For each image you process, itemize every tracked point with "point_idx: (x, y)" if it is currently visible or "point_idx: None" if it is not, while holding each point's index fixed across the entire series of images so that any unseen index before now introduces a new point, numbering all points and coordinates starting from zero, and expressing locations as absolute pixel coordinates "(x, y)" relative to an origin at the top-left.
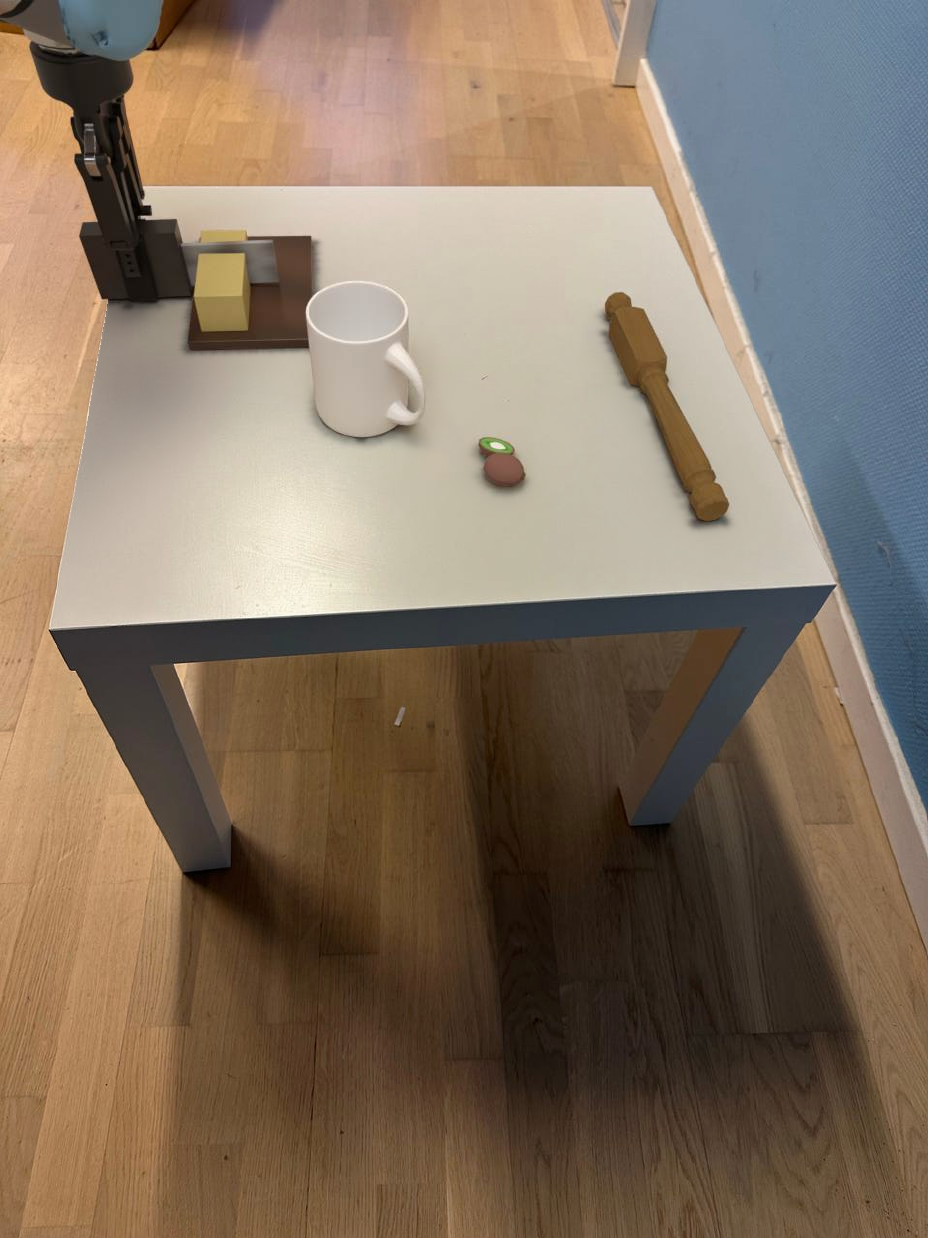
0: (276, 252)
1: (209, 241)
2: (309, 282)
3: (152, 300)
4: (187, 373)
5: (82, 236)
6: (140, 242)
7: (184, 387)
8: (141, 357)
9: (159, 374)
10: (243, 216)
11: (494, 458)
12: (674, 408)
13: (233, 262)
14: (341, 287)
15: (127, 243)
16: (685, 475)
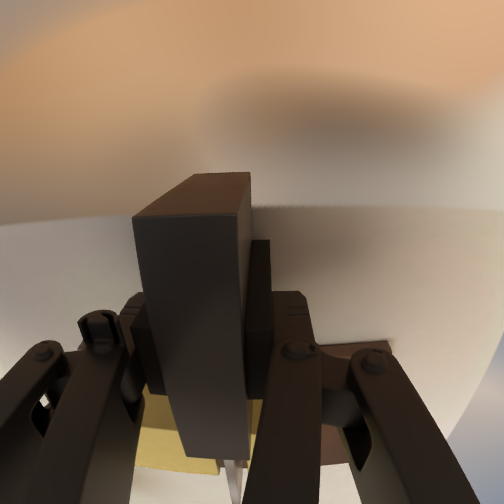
0: (321, 441)
1: (253, 445)
2: (243, 466)
3: None
4: (43, 334)
5: (134, 229)
6: (150, 389)
7: (23, 329)
8: (51, 273)
9: (30, 300)
10: (445, 379)
11: None
12: None
13: (187, 465)
14: None
15: (48, 404)
16: None
